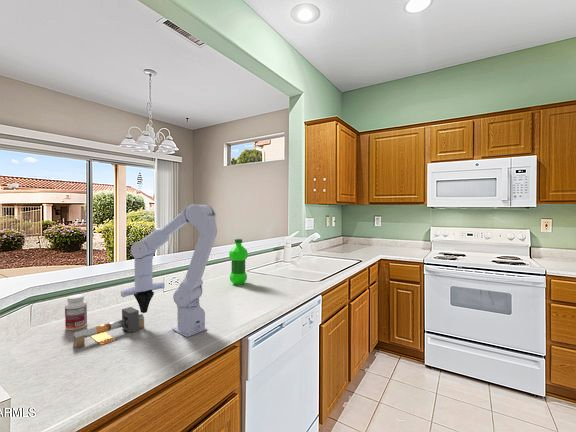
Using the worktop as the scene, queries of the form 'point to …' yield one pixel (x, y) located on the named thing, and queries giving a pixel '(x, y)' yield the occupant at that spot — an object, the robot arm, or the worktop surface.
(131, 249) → the robot arm
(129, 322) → the collar
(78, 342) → the rail
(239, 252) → the plastic bottle
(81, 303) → the pill bottle
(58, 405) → the worktop surface
